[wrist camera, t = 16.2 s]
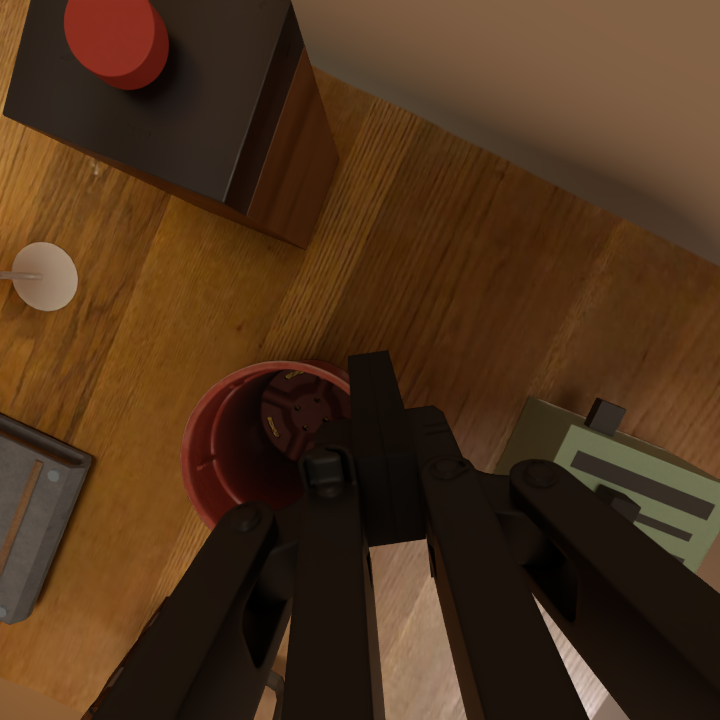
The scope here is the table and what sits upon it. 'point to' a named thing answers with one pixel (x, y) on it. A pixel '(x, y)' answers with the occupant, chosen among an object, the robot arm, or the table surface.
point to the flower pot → (257, 434)
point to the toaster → (624, 472)
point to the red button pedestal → (195, 111)
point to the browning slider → (619, 502)
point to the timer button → (117, 40)
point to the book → (32, 511)
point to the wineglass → (43, 276)
